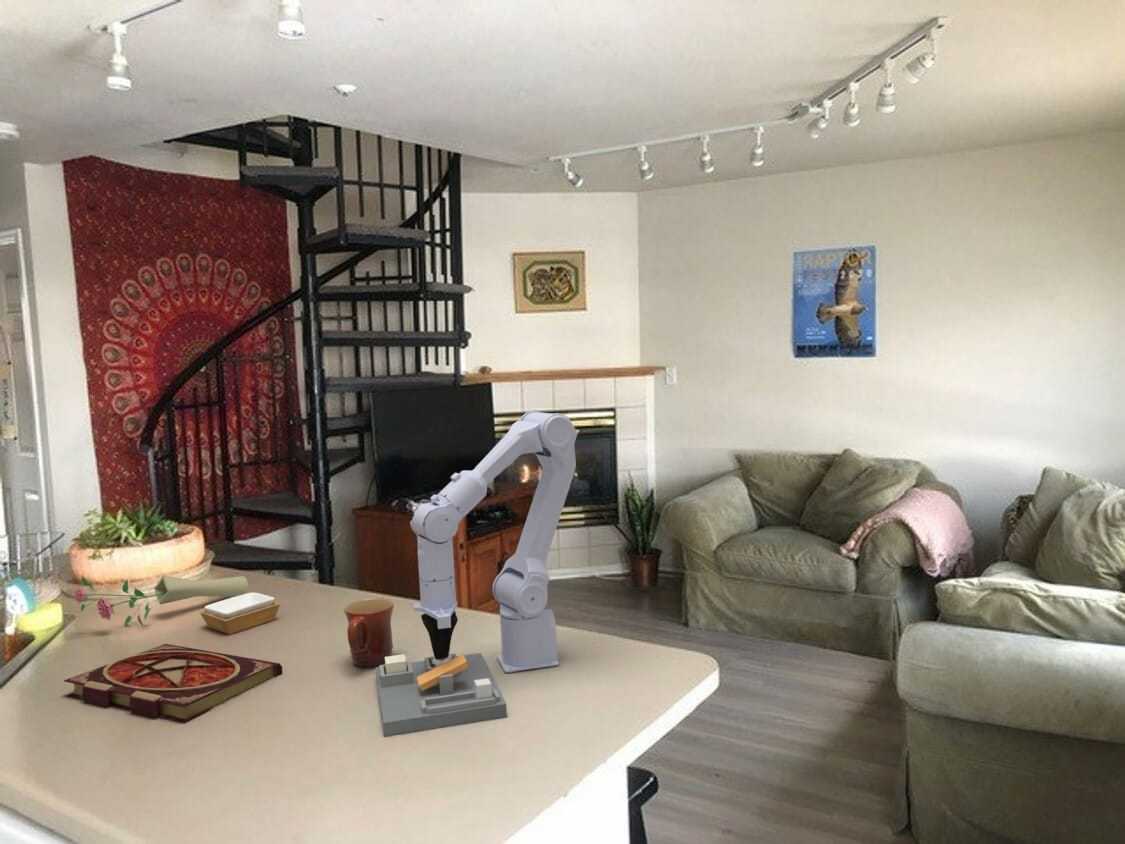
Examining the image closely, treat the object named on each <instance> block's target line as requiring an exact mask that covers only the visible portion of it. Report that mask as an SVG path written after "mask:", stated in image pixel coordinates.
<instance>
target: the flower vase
mask: <svg viewBox="0 0 1125 844" xmlns="http://www.w3.org/2000/svg"><path fill="white" fill-rule="evenodd" d="M81 583H82V585H84V586H85V587H89V589H90V590H91V589H92V592H93V593H90V594H87V593H86V592H85V591H84V590H83V589H81V588H77V589H75V593H74V599H75V601H76V602H77V604H79V605H80V604H81V607H80V612H83V611H84V609H85V608H86V607H88V606H90V605H91V604H93V603H95V602H96V601H97V600H98V601H97V603H96V606H97V611H99V612H98V615H100V616H101V619H105V620H108V621H111V619H112V617H111V616H112V614H114V615H116V613H115V612H114V609H113V607H115V606H118V605H121V604H124V603H128V608H131V609H133V608H134V607H135V602H137V601H138V600H142V599H144V601H143V602H145V601H146V600H147V599H148V598H152V597H156V598H157V599H156V604H155V605H157V604H158V603H159V605H163V604H168V603H174V602H177V601H182V600H187V599H191V598H195V597H196V598H197V597H222V598H223V597H224V598H232V597H236V596H240V595H243V594H247V593H248V590H249V583H248V579H247V578H246V576H244V575H243V576H242V575H240V576H233V577H223V578H217V579H216V578H215V579H203V580H196V579H195V580H194V579H186V578H182V577H181V578H180V577H175V576H170V575H165V574H163V575H162V576H161V577H160V579H159V581H158V582H157V584H156V585H155V586H154V592H155V594H153V595H146V594H144V593H143V592H142V591H141V590H140V589H138V588H136V587H135V588H134V589H133V594H132V595H131V593H130V591H129V581H128V578H126V580H125V581H124V584H123V585H122V589H121V590H122V592H123V593H125V594H111V593H109V594H108V593H95V591H94V590H95V589H94V588H95V586H94V585H93V583H92V581H91V580H89V582H88V580H87V579H86V578H85V576H83V575H81ZM88 596H100V597H99V598H97V599H94V600H93V601H92V602H91V603H89V604H87V605H85V604H84V603H87V602H88V601H89V597H88ZM104 596H114V597H129V599H127V600H124V601H120V602H118V603H114V604H111V603H110V601H108V598H105V599H104V598H103V597H104ZM153 602H155V600H154V601H152V602H149V600H148V601H147V603H146V605H145V607H144V610H145V613H144V616H143V617H144V620H146V619H147V617H148V615H149V613H150V610H151V609H152V607H149V604H152V603H153ZM142 605H143V603H141V604H139V605H138V604H137V605H136V606H137V607H138V606H139V607H138V608H137V610H136V612H135V614H134V615H136V614H137V612H138V611H139V612H138V613H139V614H138V616H137V621H138V623H139V625H141V626H142V627H144V624H143V622H142V620H141V616H140V615H141V611H140V607H142ZM132 618H133V616H131V615H128V616H127V617H126V619H125V620H124V625H123V626H124V627H125V626H127V625H128V624H129V623H130V622H131V621H132Z"/></svg>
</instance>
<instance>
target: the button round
mask: <svg viewBox="0 0 1125 844" xmlns="http://www.w3.org/2000/svg"><path fill="white" fill-rule="evenodd" d="M451 654H452V653H449V655H448V658H442V659H435V656H434V654H433V655H432V656H430V657H431V664H432V667H435V664H442V663H446V662H448V661H450V660H452V655H451Z"/></svg>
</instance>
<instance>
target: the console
mask: <svg viewBox="0 0 1125 844" xmlns="http://www.w3.org/2000/svg"><path fill="white" fill-rule="evenodd" d="M450 654H451V655H452V659H454V658H456V657H458V656H459V655H456V653H450ZM431 657H432V656H427V657H424V658H423V659H424V660H420V661H412V662H411V660H408V661H407V660H406V667H407V672H400V673H393V674H386V668H385V664H383V665H379V666H376V667H375V675H376V679H375V680H376V686H377V692H378V693H377V694H378V700H379V707H380V716H381V723H382V728H383V729H382V730H383V737H388V736H394V735H401V734H407V733H413V732H414V733H415V732H420V731H426V730H431V729H432V730H433V729H438V728H446V727H451V726H457V725H464V724H469V723H475V722H481V721H482V722H483V721H489V720H488V719H490V720H495V718H496V719H500V718H506V717H507V718H508V716H507V715H508V714H507V713H508V712H507V710H508V709H507V702H506V701H505V698H504V696H503V694H502V692H501V691H500V688H499V687H498V684H497V682H496V681H495V679H494V676H493V674H492V672H491V670H490V668H489V667H488V664H487V662H486V660H485V658H484V656H483V654H482V652H477V653H471V654H464V657H465V659H466V661H467V663H468V666H469V667H468V668H466V669H464V670H462V671H460V672H459V673H457V674H455V675H452V674H449V675H442V676H439V683H437V684H435V685H433V686H431V687H429V688H427V689H425V690H423V691H421V689H420V687H419V684H418V680H417V677H418V676H420V675H422V674H424V673H426V672H428V671H430V670H432V669H434V668H436V667H438V666H440V665H442V664H444V663H442V664H435V667H432V664H431ZM487 678H489V681H490V683H491V693H492V698H487V699H480V700H476V699H475V688H474V680H480V679H487Z"/></svg>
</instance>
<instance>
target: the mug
mask: <svg viewBox="0 0 1125 844" xmlns="http://www.w3.org/2000/svg"><path fill="white" fill-rule="evenodd" d="M394 606H395V602H394V601H393V600H391V599H388V598H383V597H382V598H380V597H373V598H364V599H358V600H355V601H352V602H350V603H347V604H346V605H344V607H343V612H344V615H345V617H346V619H347V622H348V625H347V631H346V632H347V641H348V645H349V648H350V649H349V652H350V655H351V659H352V660H351V661H352V663H353V664H354V665H356V666H358V667H361V668H376V667H379V665H385V657H388V656H393V652H394V651H393V650H394V649H393V648H394V644H393V643H394V641H393V631H392V614H393V611H394V608H395V607H394Z"/></svg>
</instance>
